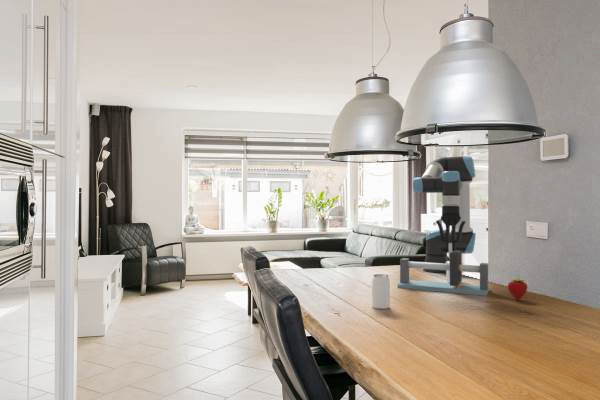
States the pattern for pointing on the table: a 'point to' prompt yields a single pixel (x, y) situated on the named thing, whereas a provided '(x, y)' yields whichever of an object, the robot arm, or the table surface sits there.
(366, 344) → the table surface
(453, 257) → the dark grey square plate
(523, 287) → the strawberry
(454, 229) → the robot arm
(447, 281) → the white cup
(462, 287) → the pipe stand
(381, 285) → the can
